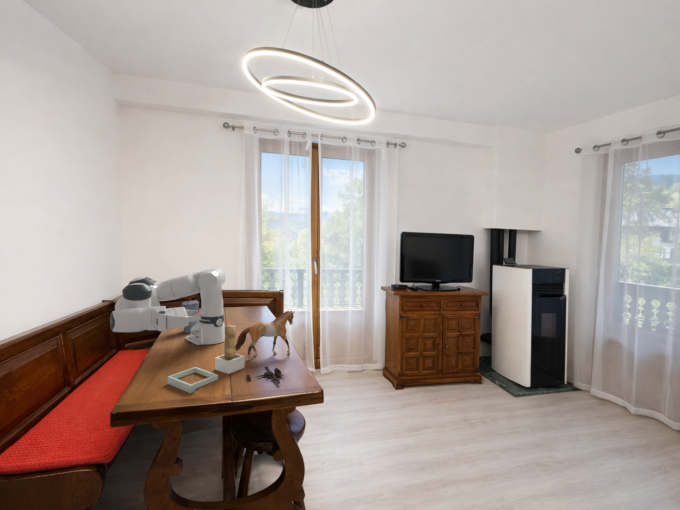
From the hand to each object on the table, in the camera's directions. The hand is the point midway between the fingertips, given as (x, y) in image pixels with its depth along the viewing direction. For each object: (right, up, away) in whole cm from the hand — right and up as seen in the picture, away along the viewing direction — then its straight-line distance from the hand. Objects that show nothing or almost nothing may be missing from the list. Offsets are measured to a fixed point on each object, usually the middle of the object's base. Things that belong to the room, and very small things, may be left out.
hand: (199, 314), depth 135 cm
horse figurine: (+20, -25, +27) cm, 41 cm away
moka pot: (-31, -21, +64) cm, 74 cm away
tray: (0, -25, -6) cm, 26 cm away
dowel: (+10, -24, +7) cm, 27 cm away
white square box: (+10, -25, +7) cm, 28 cm away
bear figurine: (+27, -26, 0) cm, 38 cm away
